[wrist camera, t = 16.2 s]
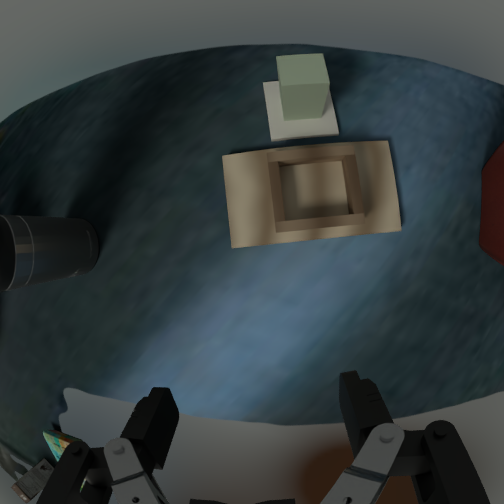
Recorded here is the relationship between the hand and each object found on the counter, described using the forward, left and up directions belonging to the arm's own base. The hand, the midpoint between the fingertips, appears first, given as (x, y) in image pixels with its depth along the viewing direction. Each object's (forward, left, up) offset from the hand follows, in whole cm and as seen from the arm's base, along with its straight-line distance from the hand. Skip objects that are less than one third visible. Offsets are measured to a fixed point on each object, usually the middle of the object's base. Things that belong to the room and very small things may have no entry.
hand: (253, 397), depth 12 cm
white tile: (+6, +24, -26) cm, 36 cm away
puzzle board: (+6, +12, -26) cm, 29 cm away
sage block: (+6, +24, -25) cm, 35 cm away
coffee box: (-71, -53, -26) cm, 92 cm away
